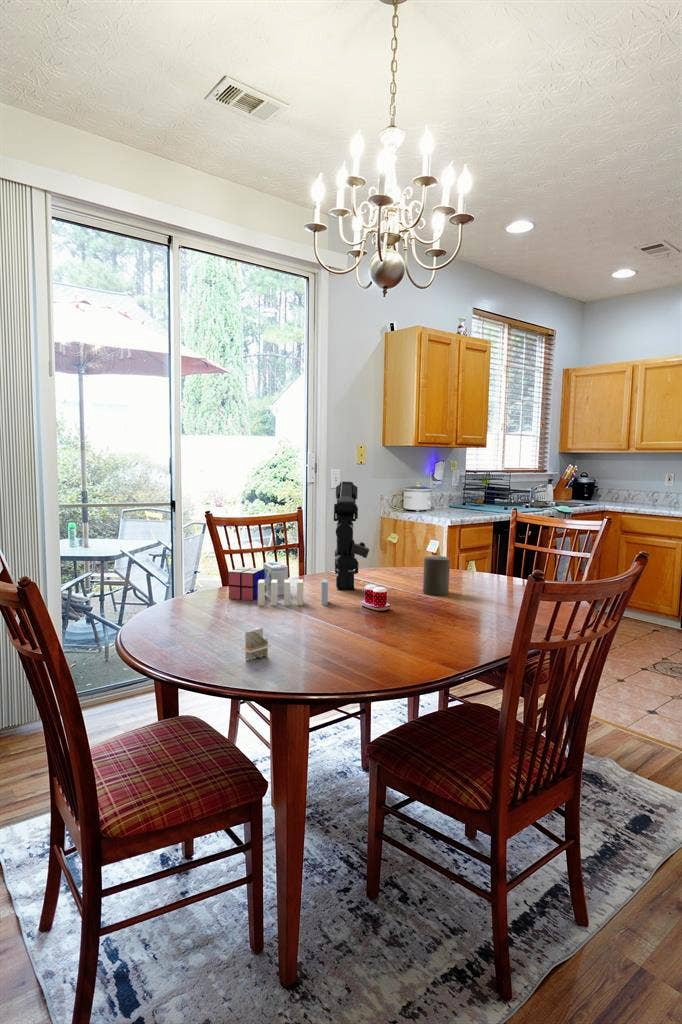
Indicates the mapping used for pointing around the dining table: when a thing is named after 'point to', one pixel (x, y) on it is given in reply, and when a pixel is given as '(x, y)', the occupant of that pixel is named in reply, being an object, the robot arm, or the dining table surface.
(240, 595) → the puzzle cube
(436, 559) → the dark grey cylinder
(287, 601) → the domino
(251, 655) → the architectural model
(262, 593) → the domino
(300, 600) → the domino
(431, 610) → the dining table surface
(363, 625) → the dining table surface
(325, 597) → the domino
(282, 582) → the light bulb box
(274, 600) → the domino
